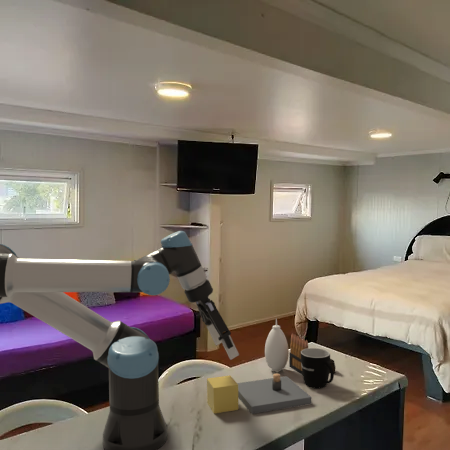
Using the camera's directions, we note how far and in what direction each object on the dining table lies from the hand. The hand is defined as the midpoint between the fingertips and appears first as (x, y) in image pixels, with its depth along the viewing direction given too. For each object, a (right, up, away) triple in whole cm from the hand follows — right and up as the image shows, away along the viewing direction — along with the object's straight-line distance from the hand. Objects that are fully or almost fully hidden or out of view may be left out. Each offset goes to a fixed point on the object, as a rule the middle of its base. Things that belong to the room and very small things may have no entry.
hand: (226, 349), depth 124 cm
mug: (+29, -14, +10) cm, 33 cm away
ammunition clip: (+25, -14, +22) cm, 36 cm away
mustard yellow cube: (-1, -15, -2) cm, 15 cm away
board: (+13, -15, +3) cm, 20 cm away
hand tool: (+32, -14, +28) cm, 45 cm away
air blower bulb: (+17, -14, +23) cm, 32 cm away
